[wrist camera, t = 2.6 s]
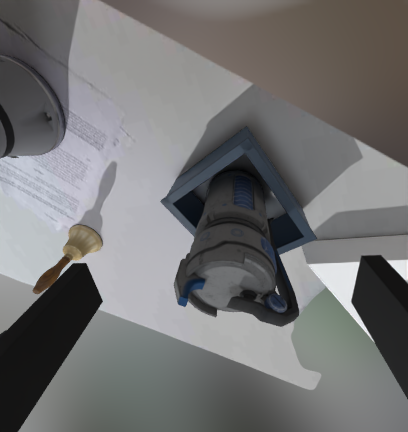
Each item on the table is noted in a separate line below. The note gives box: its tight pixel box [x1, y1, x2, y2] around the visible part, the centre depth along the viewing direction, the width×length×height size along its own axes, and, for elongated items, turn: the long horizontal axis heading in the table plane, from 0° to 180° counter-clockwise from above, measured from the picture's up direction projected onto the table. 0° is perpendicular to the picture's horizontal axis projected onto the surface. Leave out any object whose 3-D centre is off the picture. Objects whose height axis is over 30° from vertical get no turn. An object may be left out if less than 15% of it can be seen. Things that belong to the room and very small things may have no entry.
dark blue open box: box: [161, 126, 317, 255], centre depth 39 cm, size 19×16×9 cm
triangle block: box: [302, 235, 408, 340], centre depth 44 cm, size 30×26×6 cm
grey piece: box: [174, 170, 299, 327], centre depth 32 cm, size 10×13×25 cm
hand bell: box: [33, 225, 102, 294], centre depth 48 cm, size 8×8×16 cm
